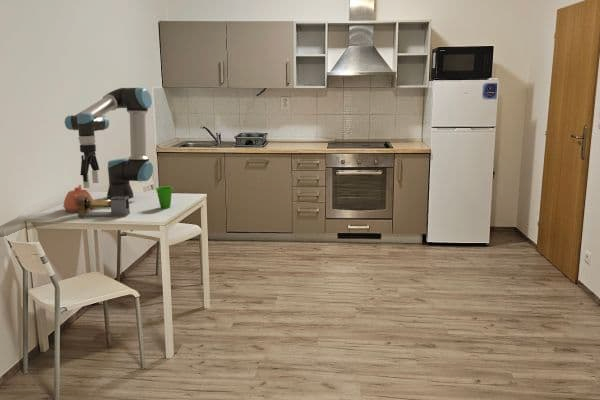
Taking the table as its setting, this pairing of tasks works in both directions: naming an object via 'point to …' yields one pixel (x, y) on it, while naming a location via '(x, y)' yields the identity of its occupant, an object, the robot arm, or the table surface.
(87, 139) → the robot arm
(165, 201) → the cup
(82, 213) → the socket
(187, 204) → the table surface
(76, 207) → the teapot
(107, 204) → the tube
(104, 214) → the base board
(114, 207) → the sleeve
